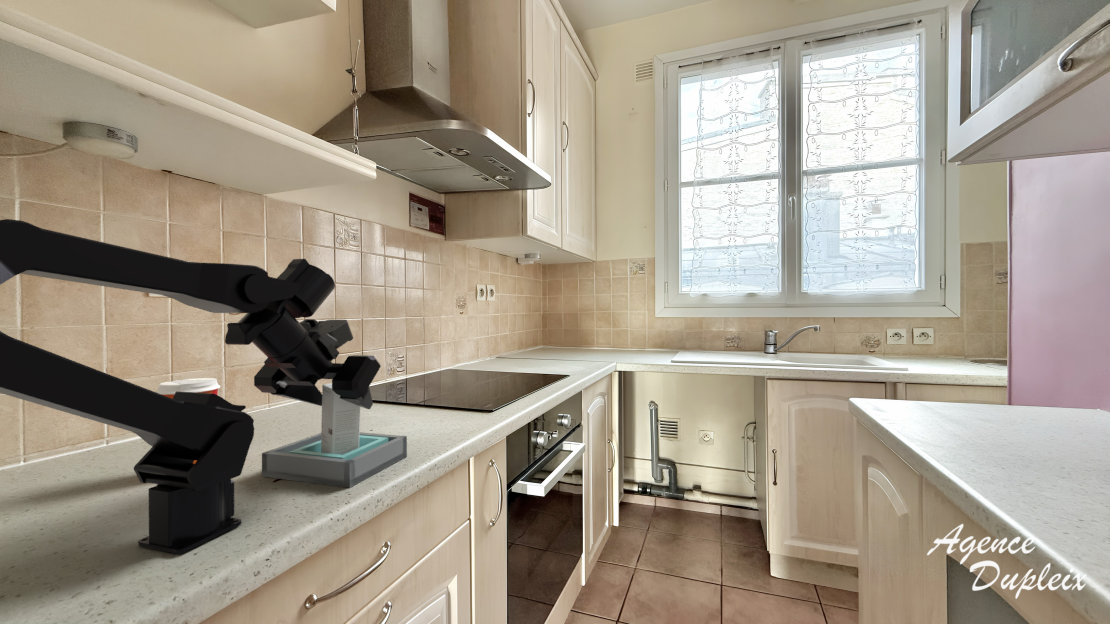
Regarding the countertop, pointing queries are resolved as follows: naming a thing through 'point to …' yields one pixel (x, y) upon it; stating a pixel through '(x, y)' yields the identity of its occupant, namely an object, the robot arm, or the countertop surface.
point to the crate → (334, 460)
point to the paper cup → (189, 387)
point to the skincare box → (338, 423)
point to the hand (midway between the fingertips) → (346, 405)
